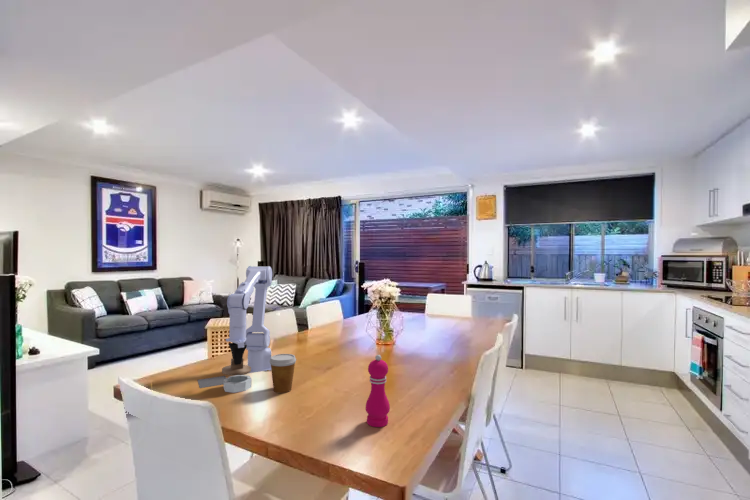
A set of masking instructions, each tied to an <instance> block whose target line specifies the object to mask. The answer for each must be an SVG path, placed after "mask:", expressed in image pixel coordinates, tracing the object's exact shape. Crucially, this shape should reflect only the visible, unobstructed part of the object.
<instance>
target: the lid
mask: <svg viewBox="0 0 750 500" xmlns="http://www.w3.org/2000/svg"><path fill="white" fill-rule="evenodd" d="M249 372H251V367H250V366H248V364H247V365H246V364H244V358H242V362H241V364H237V365H235V363H234V358H230V365H225V366H223V367H222V368H221V374H223V375H225V376H236V375H247V374H250V373H249Z"/></svg>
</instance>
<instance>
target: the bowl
mask: <svg viewBox="0 0 750 500" xmlns="http://www.w3.org/2000/svg"><path fill="white" fill-rule="evenodd" d="M252 380H253V379H252V377H251V376H250V375H247V374H243V375H229V376H228V377H226V379H224V385H223V389H224V392H225V393H234V394H235V393H241V392H246V391H248V390H249V389H251V388H252Z"/></svg>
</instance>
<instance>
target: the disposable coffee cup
mask: <svg viewBox="0 0 750 500" xmlns="http://www.w3.org/2000/svg"><path fill="white" fill-rule="evenodd" d="M296 361H297V358H296V356H295V354H292V353H291V354H290V353H279V354H274V355H271V359H270V361H269V362H270V364H271V370H270V372H271V379H272V386H273V387H272V388H273V392H274V393H277V394H285V393H289V392H291V390H292V387H293V379H294V372H295V366H296V363H297V362H296Z"/></svg>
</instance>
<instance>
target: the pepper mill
mask: <svg viewBox="0 0 750 500" xmlns="http://www.w3.org/2000/svg"><path fill="white" fill-rule="evenodd" d="M367 372H368V374H369V375H370V376H369V382H370V385H371V386H370V387H371V388H370V392H369V396H367V400H366V403H365V412H366V414H367V415H366V423H367V425H368V426H370V427H372V428H382V427H385V426H387V425H388V424H389V416H388V414H389V413H390V410H391V408H390V401H389V398H388V396H387V395H386V390H385V389H386V388H385V385H386V383H387V376H386V375H387V374H388V373H389V366H388V363H387V362H386V361H385V360H382V356H381V354H376V355H375V359H373V360H372V361H370V362H369V364H368V366H367Z"/></svg>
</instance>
